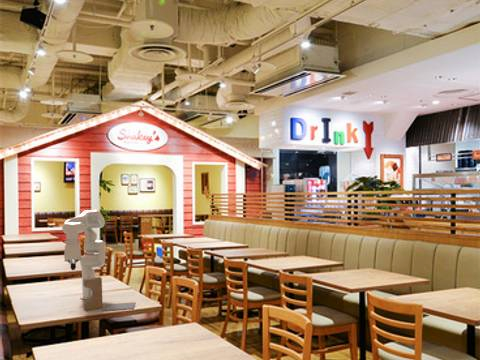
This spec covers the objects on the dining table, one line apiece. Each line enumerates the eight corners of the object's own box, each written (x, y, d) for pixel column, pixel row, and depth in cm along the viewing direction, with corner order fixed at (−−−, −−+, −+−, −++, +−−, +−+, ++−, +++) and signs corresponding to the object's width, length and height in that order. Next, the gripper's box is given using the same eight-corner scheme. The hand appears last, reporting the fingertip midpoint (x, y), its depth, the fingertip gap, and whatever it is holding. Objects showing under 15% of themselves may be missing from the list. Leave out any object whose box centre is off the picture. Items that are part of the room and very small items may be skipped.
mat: (105, 305, 320) (105, 304, 320) (135, 303, 323) (135, 302, 323) (102, 311, 304) (102, 310, 304) (133, 309, 307) (133, 308, 307)
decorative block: (85, 310, 307) (84, 280, 308) (84, 308, 312) (83, 278, 313) (102, 307, 313) (101, 278, 313) (101, 306, 318) (100, 276, 318)
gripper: (59, 243, 306) (60, 271, 306) (83, 242, 309) (84, 269, 308) (62, 242, 314) (62, 269, 313) (85, 240, 316) (85, 268, 316)
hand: (73, 269), depth 311 cm, fingers closed
